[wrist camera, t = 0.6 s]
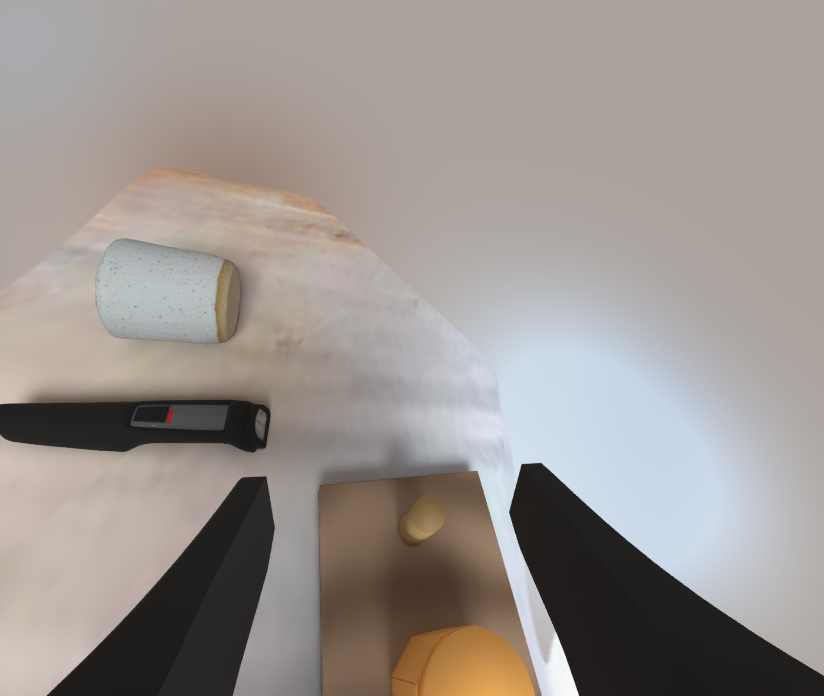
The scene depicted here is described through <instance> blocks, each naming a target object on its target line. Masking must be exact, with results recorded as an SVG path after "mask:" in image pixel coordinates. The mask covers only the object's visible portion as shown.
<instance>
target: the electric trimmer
mask: <svg viewBox="0 0 824 696" xmlns="http://www.w3.org/2000/svg"><path fill="white" fill-rule="evenodd" d="M269 422H270V411H269V409H268V408H267V407H266V406H264V405H260V404H254V403H251V402H249V401H239V400H166V401H141V402H97V403H21V404H1V405H0V435H1V436H2V437H3V438H5V439H7V440H9V441H13V442H19V443H27V444H35V445H45V446H56V447H67V448H78V449H88V450H99V451H117V452H126V451H128V450H130V449H133V448H135V447H137V446H139V445H143V444H149V443H224V444H231V445H233V446H235V447H237V448H239V449H241V450H244V451H247V452H255V451H256V450H257V448H258V449H263V448H265V447H266V443H267V436H268V429H269Z"/></svg>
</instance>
